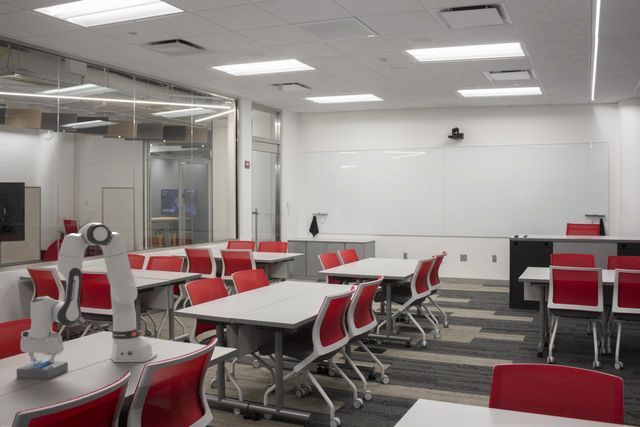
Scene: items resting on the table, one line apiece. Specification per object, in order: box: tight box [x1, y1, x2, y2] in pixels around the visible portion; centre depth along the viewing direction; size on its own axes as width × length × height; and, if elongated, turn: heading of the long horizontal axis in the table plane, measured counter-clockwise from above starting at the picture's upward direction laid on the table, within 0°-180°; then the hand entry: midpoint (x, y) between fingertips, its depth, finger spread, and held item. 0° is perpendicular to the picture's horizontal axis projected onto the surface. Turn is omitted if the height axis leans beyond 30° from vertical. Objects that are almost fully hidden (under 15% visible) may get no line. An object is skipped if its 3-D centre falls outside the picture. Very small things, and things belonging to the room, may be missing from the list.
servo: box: [30, 358, 54, 369], centre depth 269 cm, size 4×11×7 cm, turn 168°
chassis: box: [16, 360, 69, 381], centre depth 269 cm, size 16×14×4 cm
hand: (42, 361), depth 269 cm, fingers open, 8 cm apart
